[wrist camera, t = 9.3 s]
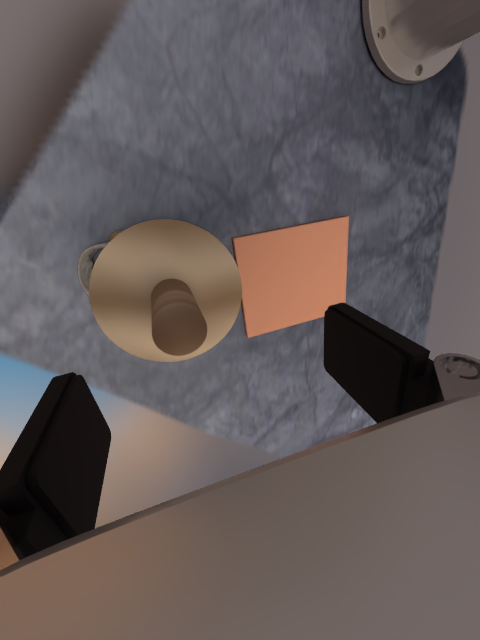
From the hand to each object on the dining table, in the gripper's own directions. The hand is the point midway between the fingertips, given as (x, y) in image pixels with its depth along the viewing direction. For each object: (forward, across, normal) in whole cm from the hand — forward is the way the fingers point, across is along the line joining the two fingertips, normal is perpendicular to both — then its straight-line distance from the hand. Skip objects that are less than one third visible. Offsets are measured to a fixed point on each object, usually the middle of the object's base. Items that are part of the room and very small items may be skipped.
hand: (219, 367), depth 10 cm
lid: (+12, +1, +1) cm, 12 cm away
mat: (+20, -13, +5) cm, 24 cm away
